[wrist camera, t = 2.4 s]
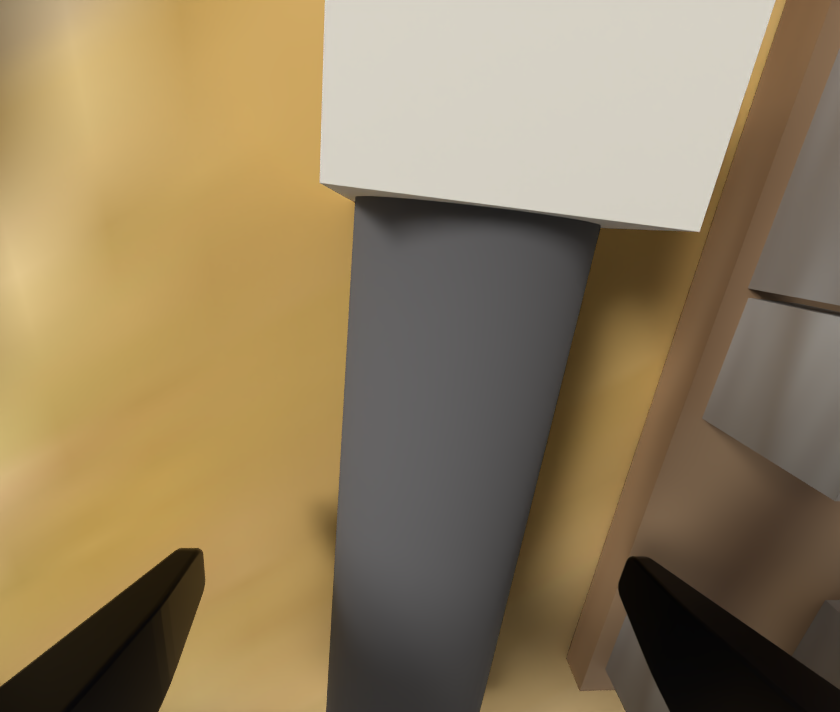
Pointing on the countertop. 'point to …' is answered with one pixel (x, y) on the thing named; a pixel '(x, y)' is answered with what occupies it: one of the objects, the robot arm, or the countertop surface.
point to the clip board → (747, 394)
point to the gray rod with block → (487, 283)
